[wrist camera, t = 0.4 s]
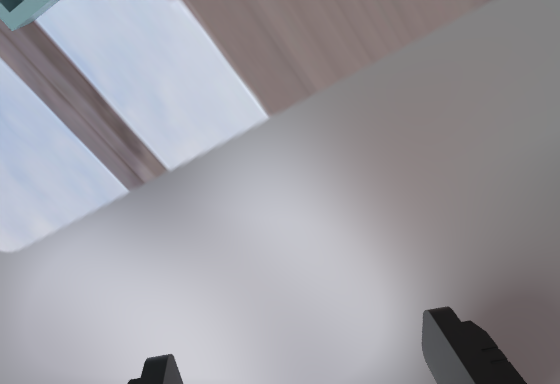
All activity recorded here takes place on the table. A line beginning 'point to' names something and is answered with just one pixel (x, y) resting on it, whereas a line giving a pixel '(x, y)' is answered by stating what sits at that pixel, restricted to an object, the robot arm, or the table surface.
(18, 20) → the tray
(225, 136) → the table surface
